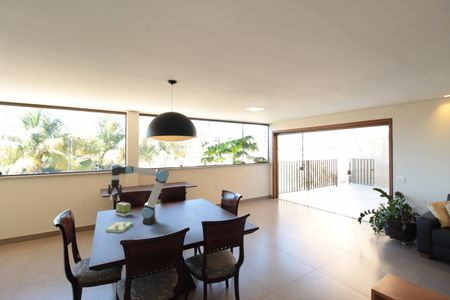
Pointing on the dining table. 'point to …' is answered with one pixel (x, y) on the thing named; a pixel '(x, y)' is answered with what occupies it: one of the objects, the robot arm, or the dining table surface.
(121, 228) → the putting mat
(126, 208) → the tea box
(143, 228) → the dining table surface
